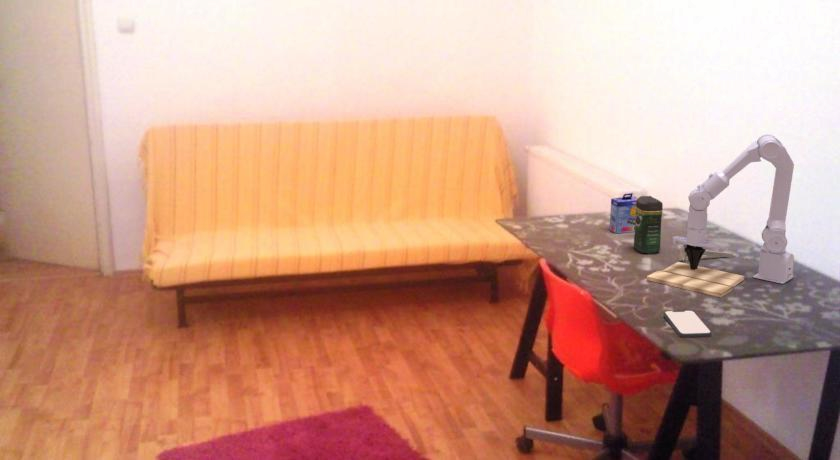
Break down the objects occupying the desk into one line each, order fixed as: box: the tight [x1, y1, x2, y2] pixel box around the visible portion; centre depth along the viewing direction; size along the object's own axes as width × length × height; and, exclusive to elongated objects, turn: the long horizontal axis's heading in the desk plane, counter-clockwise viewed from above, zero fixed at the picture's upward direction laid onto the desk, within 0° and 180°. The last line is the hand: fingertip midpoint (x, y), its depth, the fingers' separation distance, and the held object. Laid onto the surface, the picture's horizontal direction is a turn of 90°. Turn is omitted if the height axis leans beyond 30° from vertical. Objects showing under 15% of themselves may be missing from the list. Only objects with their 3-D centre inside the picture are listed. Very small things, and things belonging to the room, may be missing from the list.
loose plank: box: [663, 261, 745, 288], centre depth 276 cm, size 22×10×1 cm, turn 47°
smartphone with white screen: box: [663, 310, 713, 338], centre depth 239 cm, size 9×2×16 cm
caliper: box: [678, 244, 737, 263], centre depth 293 cm, size 20×1×6 cm, turn 103°
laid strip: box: [646, 269, 734, 298], centre depth 269 cm, size 24×8×1 cm, turn 47°
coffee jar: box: [633, 195, 664, 255], centre depth 301 cm, size 10×8×19 cm
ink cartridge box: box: [609, 192, 639, 234], centre depth 325 cm, size 10×6×14 cm, turn 107°
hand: (693, 268), depth 280 cm, fingers closed, pressing on loose plank
